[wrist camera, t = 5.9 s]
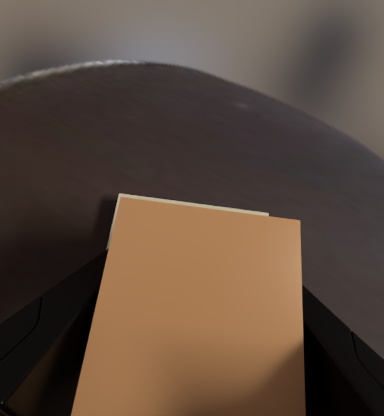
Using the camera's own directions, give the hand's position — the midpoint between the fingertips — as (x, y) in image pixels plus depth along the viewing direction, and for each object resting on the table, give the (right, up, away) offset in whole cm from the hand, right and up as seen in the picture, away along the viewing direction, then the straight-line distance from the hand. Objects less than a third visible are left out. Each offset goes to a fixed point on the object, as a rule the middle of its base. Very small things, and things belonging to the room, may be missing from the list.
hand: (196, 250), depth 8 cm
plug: (-1, -3, +6) cm, 7 cm away
